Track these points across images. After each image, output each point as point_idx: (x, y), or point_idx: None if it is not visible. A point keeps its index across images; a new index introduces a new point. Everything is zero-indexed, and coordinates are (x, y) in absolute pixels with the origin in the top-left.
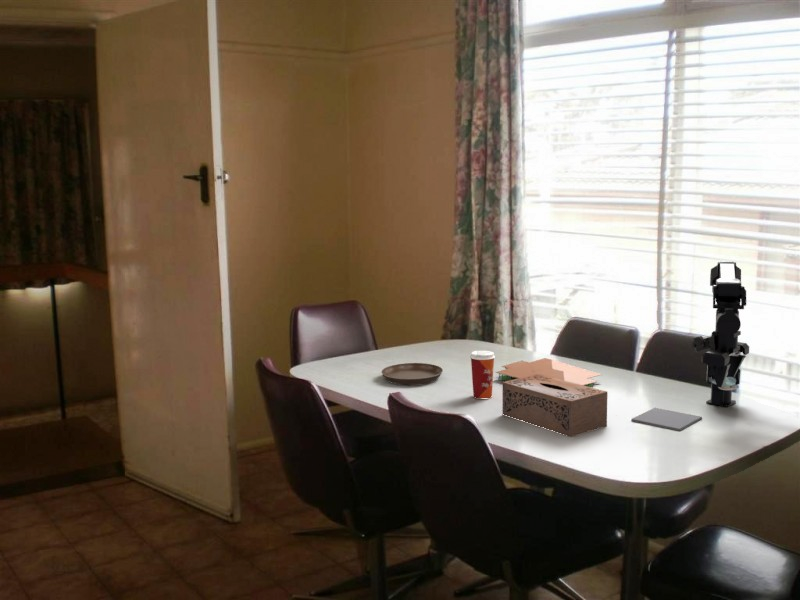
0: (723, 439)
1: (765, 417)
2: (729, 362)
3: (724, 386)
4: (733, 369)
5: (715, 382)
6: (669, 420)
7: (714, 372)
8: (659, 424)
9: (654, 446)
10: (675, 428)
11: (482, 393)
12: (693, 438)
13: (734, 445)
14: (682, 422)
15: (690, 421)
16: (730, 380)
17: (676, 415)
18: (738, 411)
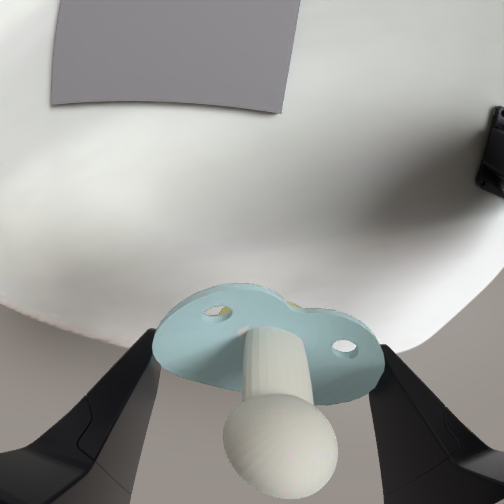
0: (76, 256)
1: (391, 306)
2: (427, 475)
3: (226, 349)
4: (388, 444)
5: (155, 337)
6: (132, 13)
7: (70, 425)
8: (59, 17)
9: None
10: (52, 86)
11: None
12: (24, 178)
13: (58, 289)
14: (133, 70)
15: (168, 92)
16: (339, 375)
17: (233, 5)
18: (440, 225)
